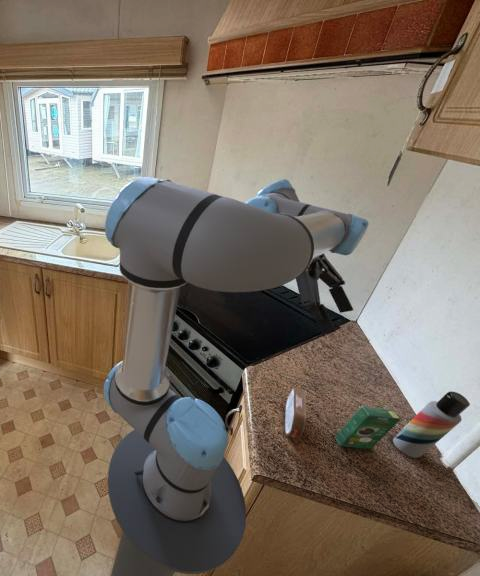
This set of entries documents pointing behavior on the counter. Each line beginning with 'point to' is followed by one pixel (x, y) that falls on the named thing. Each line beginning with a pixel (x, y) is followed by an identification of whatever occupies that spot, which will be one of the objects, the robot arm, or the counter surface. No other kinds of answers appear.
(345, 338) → the counter surface
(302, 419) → the tin
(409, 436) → the lotion bottle
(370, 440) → the coffee box
